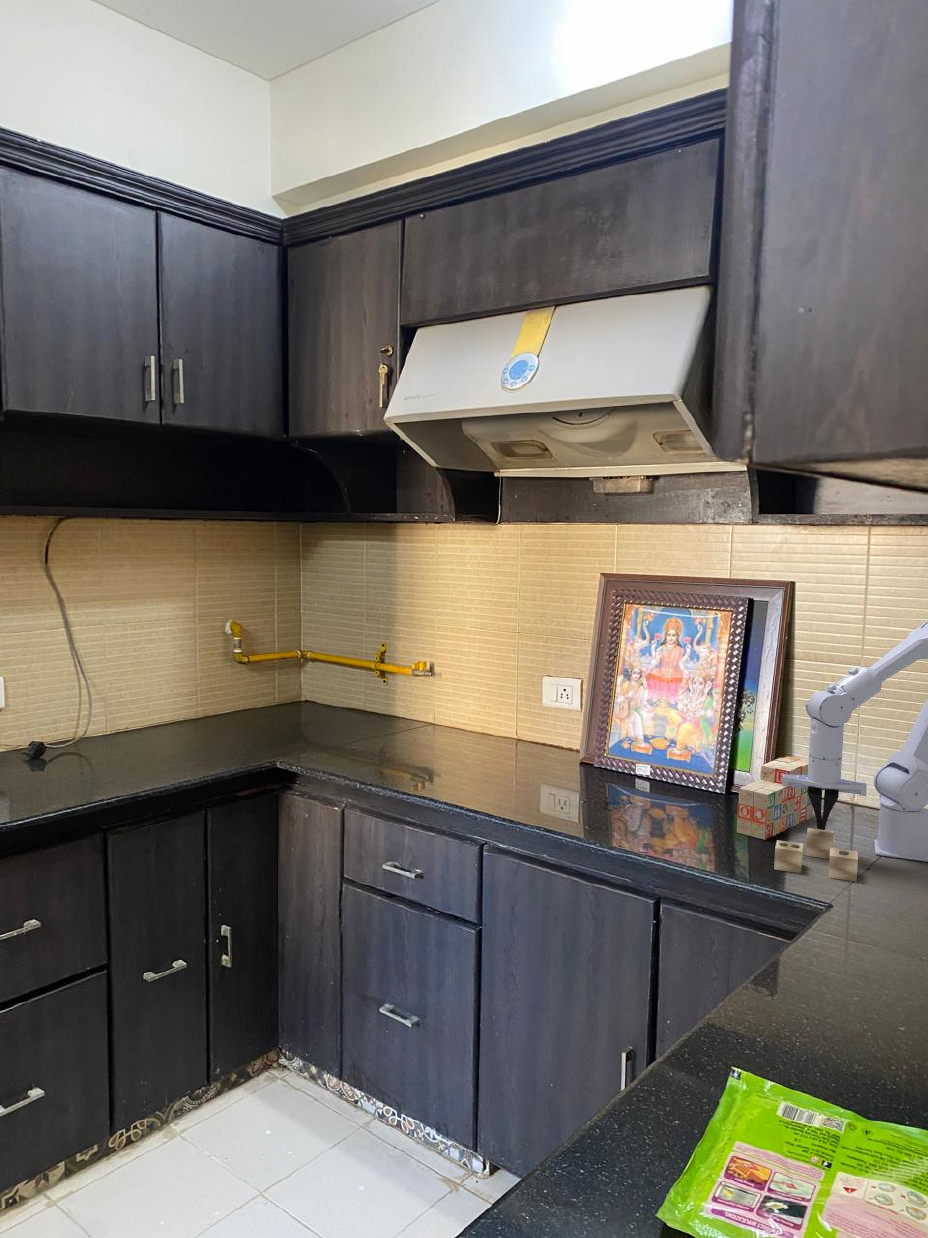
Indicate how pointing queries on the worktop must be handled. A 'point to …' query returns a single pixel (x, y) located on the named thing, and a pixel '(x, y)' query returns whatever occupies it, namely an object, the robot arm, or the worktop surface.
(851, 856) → the one-dot maple block
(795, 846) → the two-dot maple block
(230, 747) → the worktop surface
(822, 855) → the plain maple block
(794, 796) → the stack of blocks
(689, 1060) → the worktop surface
